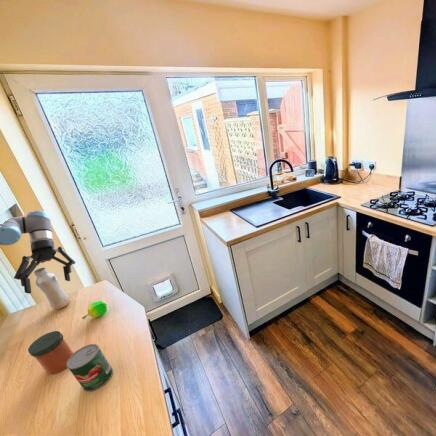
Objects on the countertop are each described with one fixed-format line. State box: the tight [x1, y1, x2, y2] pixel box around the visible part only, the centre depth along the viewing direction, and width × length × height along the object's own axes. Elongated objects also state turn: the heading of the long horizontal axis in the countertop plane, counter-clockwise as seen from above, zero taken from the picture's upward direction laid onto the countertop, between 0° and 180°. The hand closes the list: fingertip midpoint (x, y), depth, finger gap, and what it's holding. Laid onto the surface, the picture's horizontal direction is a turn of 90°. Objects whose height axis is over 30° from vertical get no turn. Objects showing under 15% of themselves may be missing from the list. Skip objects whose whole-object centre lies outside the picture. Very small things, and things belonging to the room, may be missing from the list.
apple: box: [81, 300, 108, 321], centre depth 102 cm, size 7×6×9 cm
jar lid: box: [27, 330, 64, 358], centre depth 80 cm, size 8×8×2 cm
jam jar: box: [34, 338, 75, 376], centre depth 82 cm, size 8×8×11 cm
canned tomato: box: [67, 343, 114, 393], centre depth 75 cm, size 8×8×11 cm
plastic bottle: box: [33, 267, 71, 310], centre depth 108 cm, size 6×7×20 cm
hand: (48, 286), depth 106 cm, fingers open, 13 cm apart
